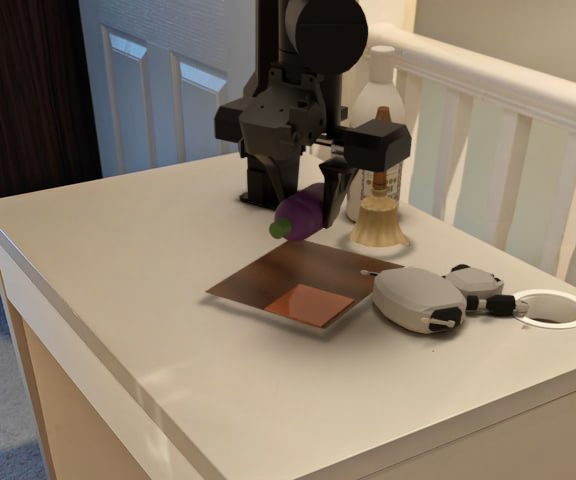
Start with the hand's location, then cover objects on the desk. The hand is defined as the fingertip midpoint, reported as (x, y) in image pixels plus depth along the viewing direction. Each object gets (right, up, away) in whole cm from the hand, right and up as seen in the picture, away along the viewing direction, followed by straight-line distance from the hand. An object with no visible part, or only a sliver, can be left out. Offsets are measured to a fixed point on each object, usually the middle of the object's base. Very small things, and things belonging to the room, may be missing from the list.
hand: (308, 222), depth 83 cm
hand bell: (+9, +4, +20) cm, 23 cm away
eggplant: (0, -1, +1) cm, 1 cm away
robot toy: (+15, -8, +6) cm, 18 cm away
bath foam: (+9, +10, +28) cm, 31 cm away
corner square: (0, -7, +5) cm, 9 cm away
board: (0, -4, +11) cm, 12 cm away
